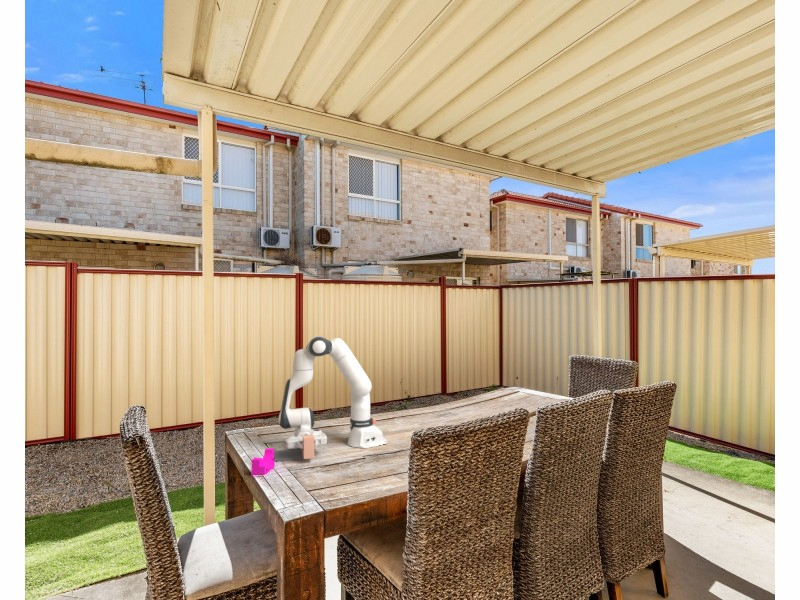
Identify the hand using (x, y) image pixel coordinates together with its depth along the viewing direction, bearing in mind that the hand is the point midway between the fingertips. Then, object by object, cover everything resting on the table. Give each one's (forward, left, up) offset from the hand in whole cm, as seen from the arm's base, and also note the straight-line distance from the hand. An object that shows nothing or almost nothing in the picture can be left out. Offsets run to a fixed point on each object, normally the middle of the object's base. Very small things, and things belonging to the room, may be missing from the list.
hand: (308, 446), depth 195 cm
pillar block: (0, -1, -6) cm, 6 cm away
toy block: (+20, +2, -8) cm, 22 cm away
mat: (+8, -13, -8) cm, 17 cm away
